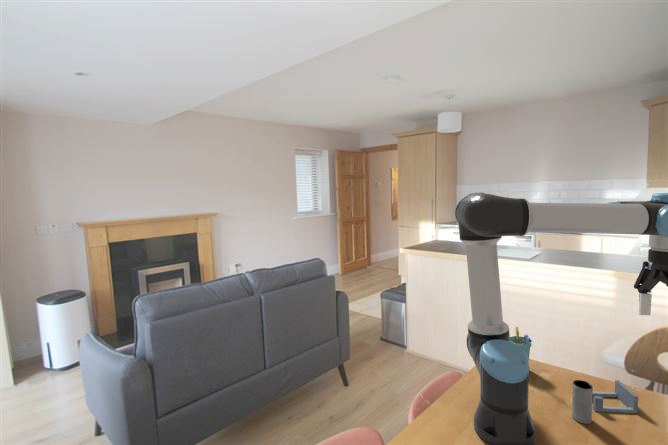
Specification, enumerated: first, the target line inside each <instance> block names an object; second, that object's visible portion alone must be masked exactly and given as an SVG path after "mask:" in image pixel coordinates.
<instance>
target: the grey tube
mask: <svg viewBox="0 0 668 445" xmlns="http://www.w3.org/2000/svg"><path fill="white" fill-rule="evenodd" d="M592 392H594V391H593V385H592V383H589V382H588V381H586V380H581V379H575V380H573V381H572V400H571V401H572V402H571V417H572V418H573V420H574V421H576V422H578V423H581V424H584V425H585V424H587V425H589V424H591V423H592V419H593V418H592V417H593V416H592V414H593V396H592Z"/></svg>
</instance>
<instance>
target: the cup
mask: <svg viewBox="0 0 668 445" xmlns="http://www.w3.org/2000/svg"><path fill="white" fill-rule="evenodd" d="M510 342H512V343H513V344H514V345H515V344H516V345H518V346H519V347H521V348H522V349H523V350H524V351H525V352H526V354H527V356H528V362H529V360H530V353H531V352H530V351H531V348H532V342H533V340H532V339H531V338H530V336H529V335H528V334H524V335H523V336H520V332H519V327H518V326H515V335H514V336H510Z"/></svg>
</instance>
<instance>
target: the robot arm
mask: <svg viewBox="0 0 668 445" xmlns="http://www.w3.org/2000/svg"><path fill="white" fill-rule="evenodd" d="M454 218H455V219H456V222H457V224H458V234H459V240H460V241H461V242H462V243H463V244H464V245H465V250H466V263H467V264H466V265H467V273H468V275H467V276H468V285H469V286H468V287H469V299H470V308H471V319H472V320H470V321H469V322H468V323H467V331H468V332H467V335H466V348H467V351H468V353H469V355H470V357H471V359H472V360H473V362H474V365H475V367H476V369H477V372H478V373H479V374H478V375H479V378H480V387H479V389H480V390H479V391H480V397H479V398H480V400H479V402H478V403H477V407H476V409H475V412H474V415H473V428H474V430H475V432H476V434H477V436H478V437H480V438H481V440H482V441H484V442H486V443H488V444H489V445H534V444H535V443H536V428H535V425H534V423H533V422H534V421H533V419H532V416H531V414H530V413H531V412H530V410H529V379H530V378H529V377H530V376H529V374H530V364H529V362H528V356H527V354H526V352H525V351H524V350H523V349H522V348H521V347H519V346H518V345H516V344H515V345H514V344H513V343H512V342H510V337H511V335H510V326H509V324H508V323H506V322H505V321H504V320H503V306H502V295H501V294H502V292H501V282H500V267H499V256H498V255H499V254H498V242H499V241H500V240H501V239H502V238H503V237H525V236H526V235H527V234H528V233H548V234H549V233H553V234H554V233H555V234H556V233H557V234H558V233H559V234H561V233H562V234H597V235H598V234H599V235H600V234H604V235H609V234H611V235H642V236H643V235H644V236H649V237H648V247H650V248H649V249H648V251H647V252H648V254H647V255H648V256H647V261H646V260H645V261H643V262H642V267H641V270H640V272H639V273H638V276H637V278H636V280H635V282H634V284H633V288H634V289H635V290H637V292H638V293H639V294H638V295H639V296H638V305H639V306H638V315H639V316H651V312H652V310H651V309H652V290H653V289H654V288H655V287H656V286H657V285H658V284H659V283H660V282H661V283H662V284H664V285H665V286H666V287H667V288H668V192H655V193H653V194H651V198H650V200H642V201H641V200H637V201H636V200H633V201H632V200H631V201H629V200H628V201H627V200H625V201H620V200H617V201H610V202H609V201H608V202H605V203H599V202H598V203H595V202H591V203H589V202H580V203H579V202H529V201H528V200H527V198H516V197H515V198H513V197H507V196H501V195H495V194H491V193H485V192H481V191H480V192H470V193H469V194H467V195H464V196H463V197H462V198H461V199H459V201H458V202H457V204H456V206H455V209H454Z"/></svg>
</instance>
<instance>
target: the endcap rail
mask: <svg viewBox="0 0 668 445" xmlns="http://www.w3.org/2000/svg"><path fill="white" fill-rule="evenodd" d="M629 388H630V387H629ZM629 388H628V386H627V385H625V384H624V383H623V382H622V381H620V380H618V379H617V380H615V379H614V391H613V392H612V391H611V392H610V391H592V397H593V401H592V410H594V412H607V413H608V412H609V413H623V414H624V413H626V414H629V413H630V414H638V408H639V407H638V406H639V396H638V395H637V394H636V393H634V392H633V390H631V389H629ZM604 398H617V400H619V401H620V402H621V403H622V404H623V405H624V406H605V405H604ZM625 406H626V407H625Z"/></svg>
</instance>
